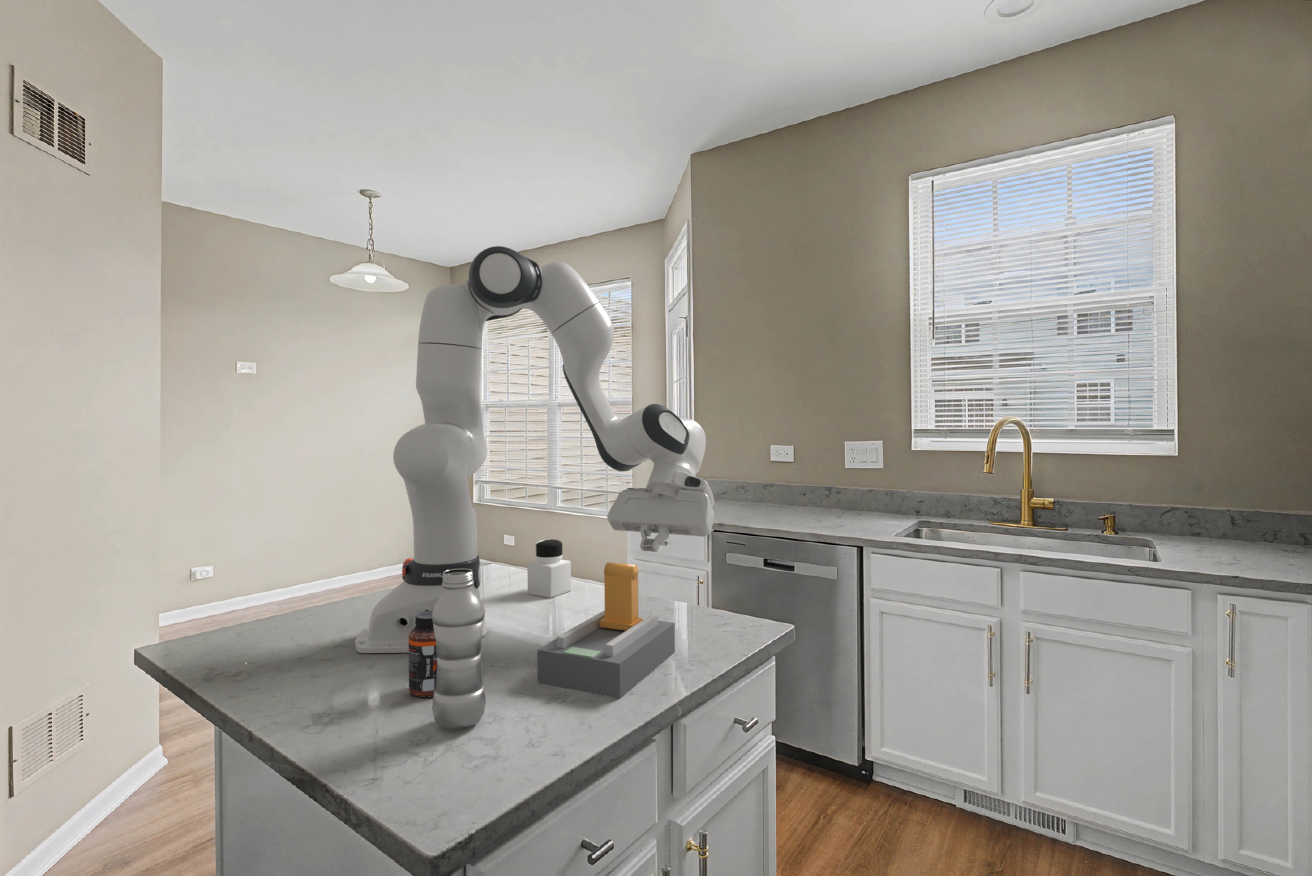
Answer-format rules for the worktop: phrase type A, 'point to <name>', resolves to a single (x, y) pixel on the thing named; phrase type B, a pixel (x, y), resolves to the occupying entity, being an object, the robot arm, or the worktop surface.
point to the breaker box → (605, 656)
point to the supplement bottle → (422, 656)
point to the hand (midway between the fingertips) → (648, 549)
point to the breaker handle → (620, 596)
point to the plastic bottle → (458, 652)
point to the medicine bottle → (549, 570)
